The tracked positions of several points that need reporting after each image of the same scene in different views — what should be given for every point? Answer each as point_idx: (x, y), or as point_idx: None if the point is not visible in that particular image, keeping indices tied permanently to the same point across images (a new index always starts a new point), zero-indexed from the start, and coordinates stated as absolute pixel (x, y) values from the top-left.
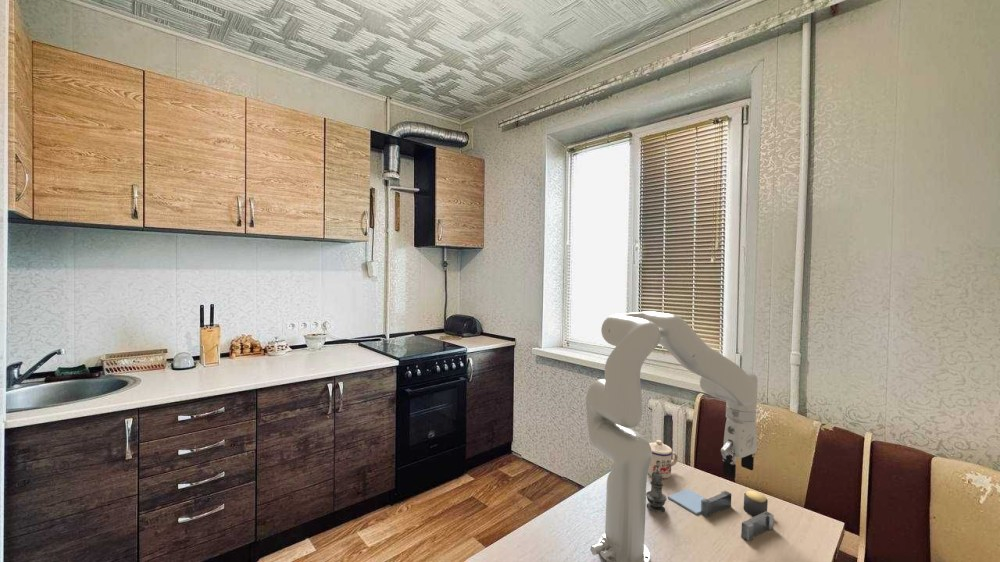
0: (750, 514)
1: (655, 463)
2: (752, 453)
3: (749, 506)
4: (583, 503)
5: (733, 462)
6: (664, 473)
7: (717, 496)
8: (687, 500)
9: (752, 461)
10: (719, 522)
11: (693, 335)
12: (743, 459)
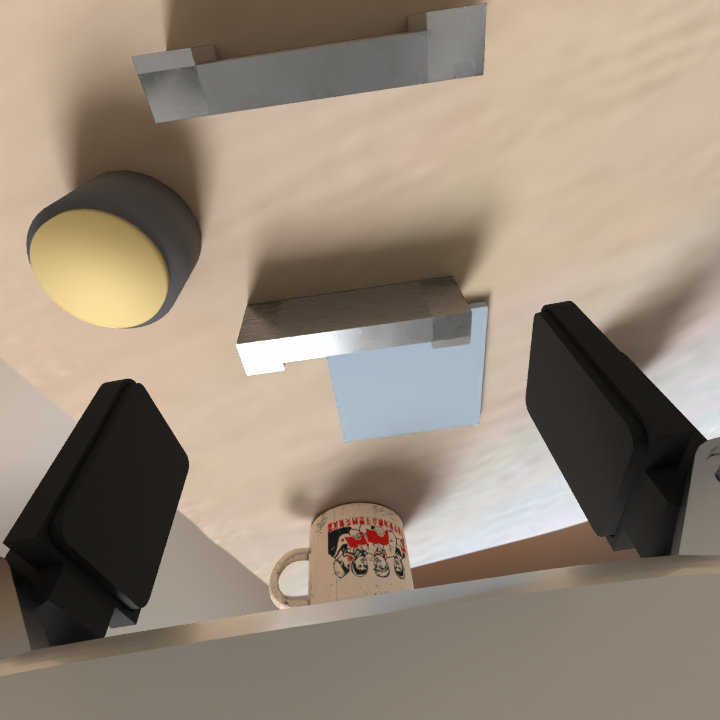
0: (195, 219)
1: (404, 566)
2: (125, 658)
3: (187, 244)
4: None
5: (706, 480)
6: (371, 521)
7: (347, 345)
8: (430, 384)
9: (73, 474)
10: (435, 222)
11: None
12: (156, 527)
